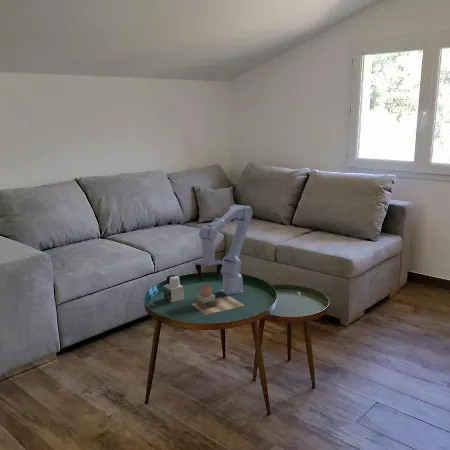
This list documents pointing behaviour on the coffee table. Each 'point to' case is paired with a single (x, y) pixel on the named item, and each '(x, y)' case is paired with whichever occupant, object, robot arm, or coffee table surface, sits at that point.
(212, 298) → the tower top
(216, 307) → the board
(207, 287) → the cylinder
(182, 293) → the medicine bottle
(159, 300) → the coffee table surface
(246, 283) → the coffee table surface
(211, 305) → the tower base
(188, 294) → the coffee table surface
